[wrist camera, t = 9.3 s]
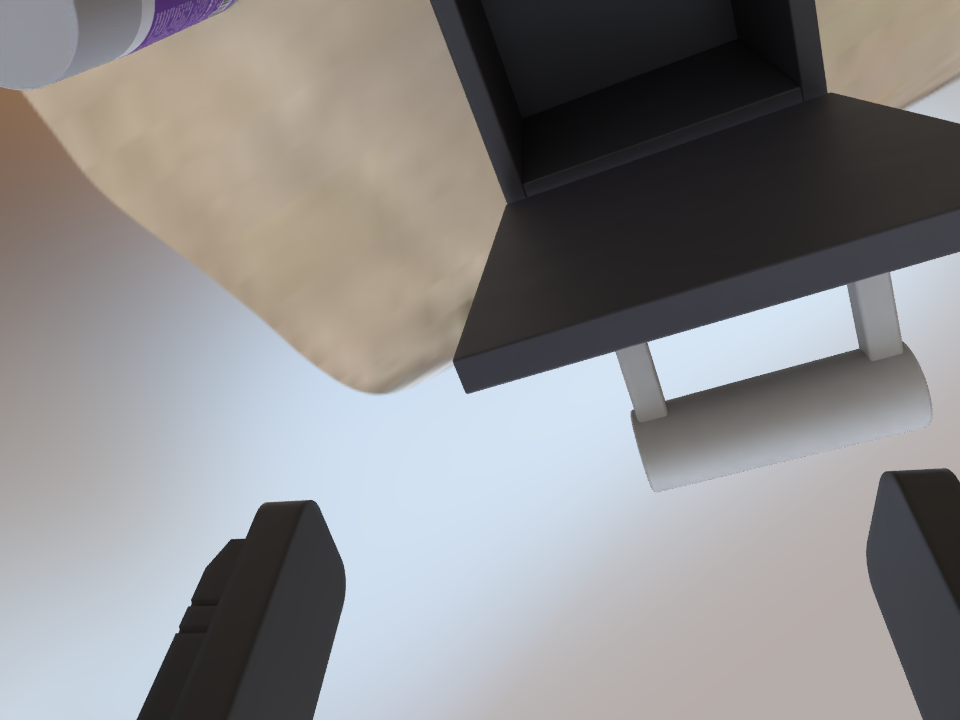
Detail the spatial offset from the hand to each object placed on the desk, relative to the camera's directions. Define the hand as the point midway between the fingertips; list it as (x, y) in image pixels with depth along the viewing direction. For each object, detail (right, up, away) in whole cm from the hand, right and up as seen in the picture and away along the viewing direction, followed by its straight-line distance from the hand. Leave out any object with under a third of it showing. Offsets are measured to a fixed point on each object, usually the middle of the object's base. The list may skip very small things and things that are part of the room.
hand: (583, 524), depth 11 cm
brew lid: (+4, +7, +9) cm, 12 cm away
